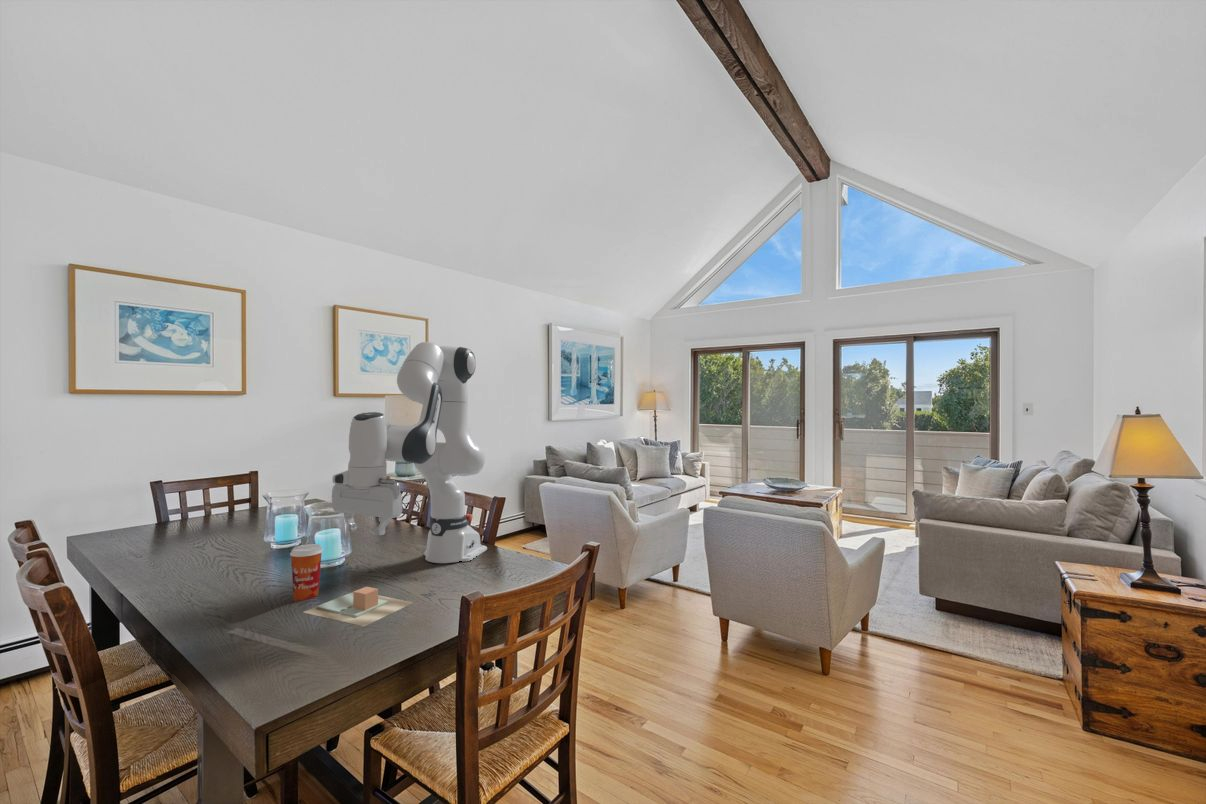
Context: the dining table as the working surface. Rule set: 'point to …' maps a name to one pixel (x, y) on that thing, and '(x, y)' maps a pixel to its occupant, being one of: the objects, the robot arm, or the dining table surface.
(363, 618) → the board
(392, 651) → the dining table surface
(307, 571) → the paper cup
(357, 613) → the stub
